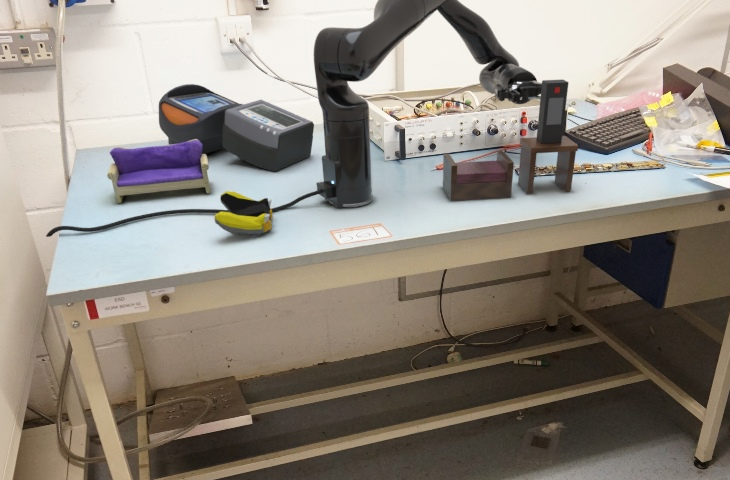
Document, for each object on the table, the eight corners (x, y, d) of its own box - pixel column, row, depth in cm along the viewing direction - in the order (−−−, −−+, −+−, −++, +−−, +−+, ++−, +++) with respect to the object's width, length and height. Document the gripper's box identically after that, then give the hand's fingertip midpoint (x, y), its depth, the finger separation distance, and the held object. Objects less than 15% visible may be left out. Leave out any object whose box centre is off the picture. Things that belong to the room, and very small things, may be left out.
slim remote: (541, 144, 135) (547, 83, 129) (536, 140, 138) (542, 80, 132) (561, 143, 136) (568, 82, 129) (556, 139, 139) (563, 79, 132)
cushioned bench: (450, 201, 136) (451, 165, 132) (442, 187, 144) (443, 153, 140) (511, 197, 137) (513, 162, 133) (500, 184, 145) (502, 150, 141)
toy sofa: (113, 204, 139) (101, 157, 134) (117, 192, 146) (105, 146, 141) (213, 194, 144) (205, 147, 138) (211, 182, 151) (204, 138, 145)
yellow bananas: (217, 244, 119) (271, 240, 120) (212, 215, 117) (268, 212, 117) (224, 215, 132) (274, 212, 133) (220, 189, 129) (270, 186, 130)
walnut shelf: (526, 195, 138) (531, 147, 133) (516, 183, 145) (520, 138, 140) (572, 192, 139) (578, 145, 134) (559, 180, 146) (565, 135, 141)
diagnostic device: (146, 82, 159) (209, 68, 176) (147, 147, 170) (208, 128, 186) (269, 138, 148) (324, 118, 164) (263, 204, 158) (316, 178, 175)
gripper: (488, 68, 153) (507, 81, 139) (547, 66, 154) (571, 78, 140) (486, 102, 157) (504, 117, 143) (544, 99, 158) (567, 114, 144)
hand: (537, 97), depth 142 cm, fingers open, 8 cm apart
